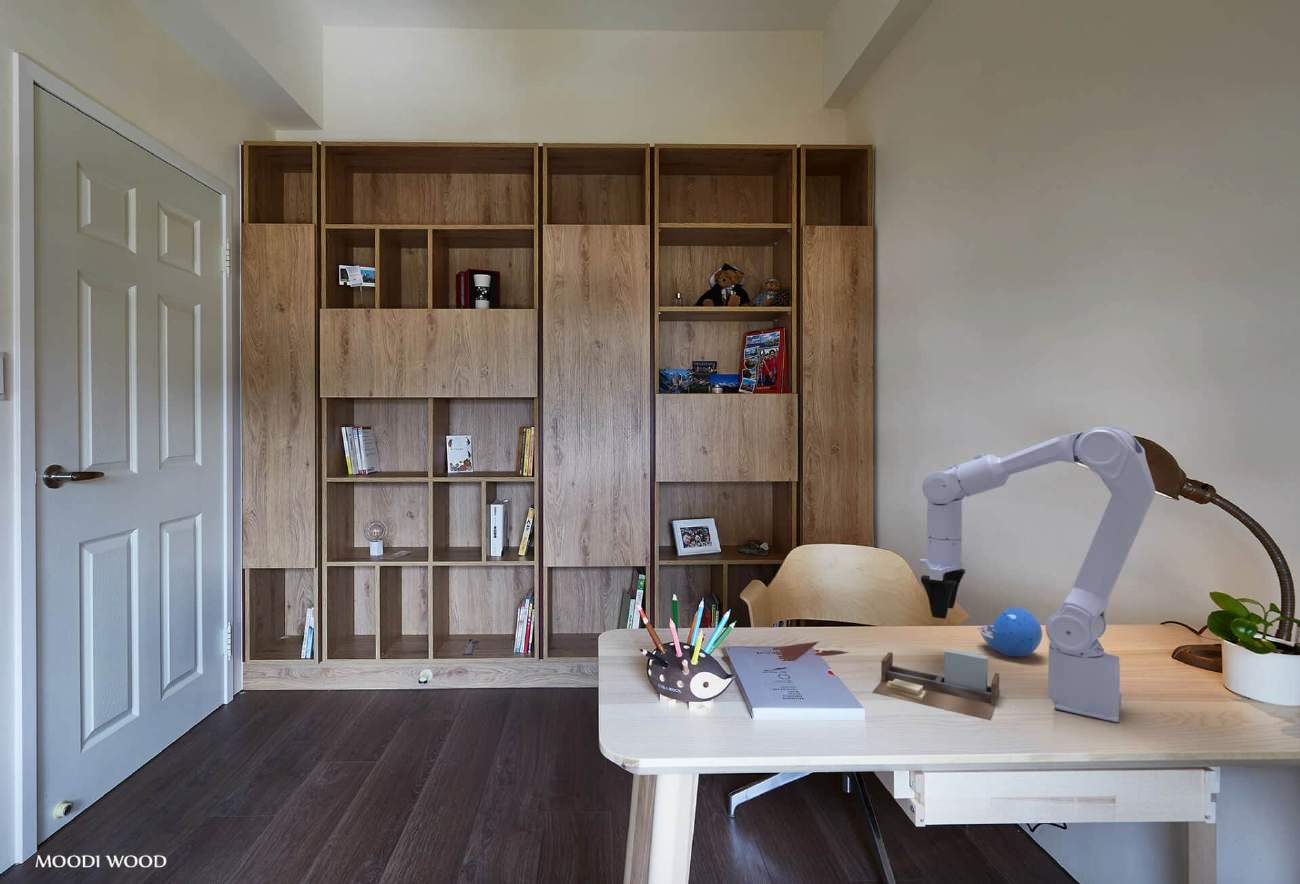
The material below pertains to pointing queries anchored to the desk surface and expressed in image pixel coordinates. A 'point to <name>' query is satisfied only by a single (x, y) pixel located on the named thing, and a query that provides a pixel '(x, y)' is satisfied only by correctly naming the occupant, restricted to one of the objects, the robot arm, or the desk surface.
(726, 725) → the desk surface
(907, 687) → the offcut stack
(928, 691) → the board with sliding block
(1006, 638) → the cell model
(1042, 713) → the desk surface
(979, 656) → the slate board
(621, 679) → the desk surface
